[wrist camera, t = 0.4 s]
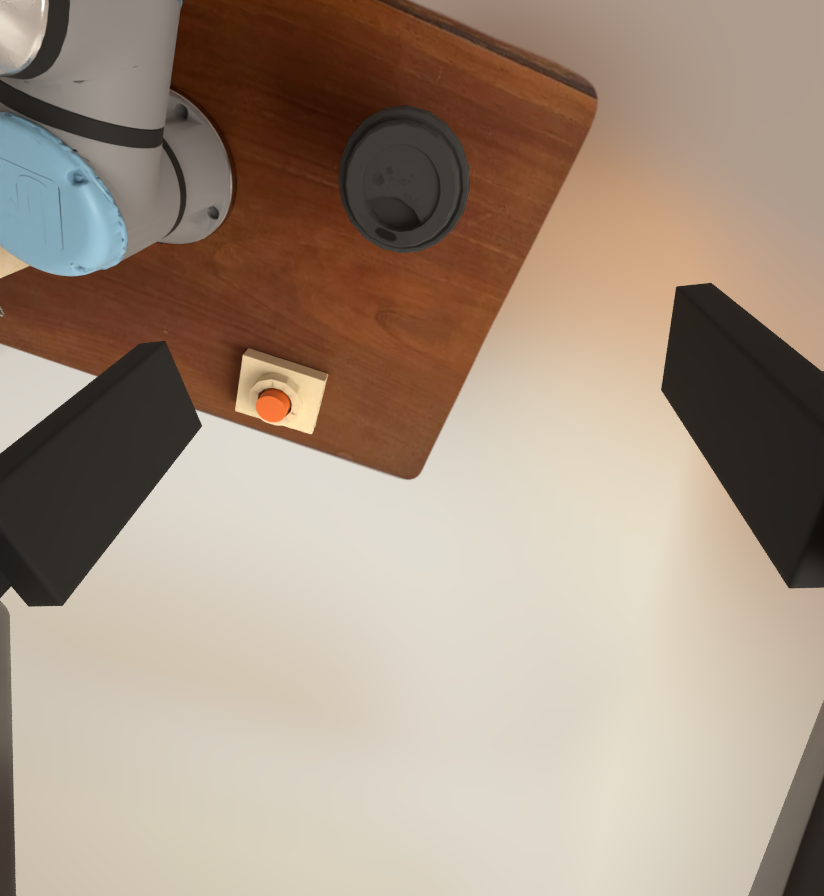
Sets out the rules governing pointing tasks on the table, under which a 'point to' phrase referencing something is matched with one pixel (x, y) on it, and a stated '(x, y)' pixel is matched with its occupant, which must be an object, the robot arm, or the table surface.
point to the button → (273, 405)
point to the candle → (9, 263)
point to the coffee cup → (404, 179)
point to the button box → (281, 388)
